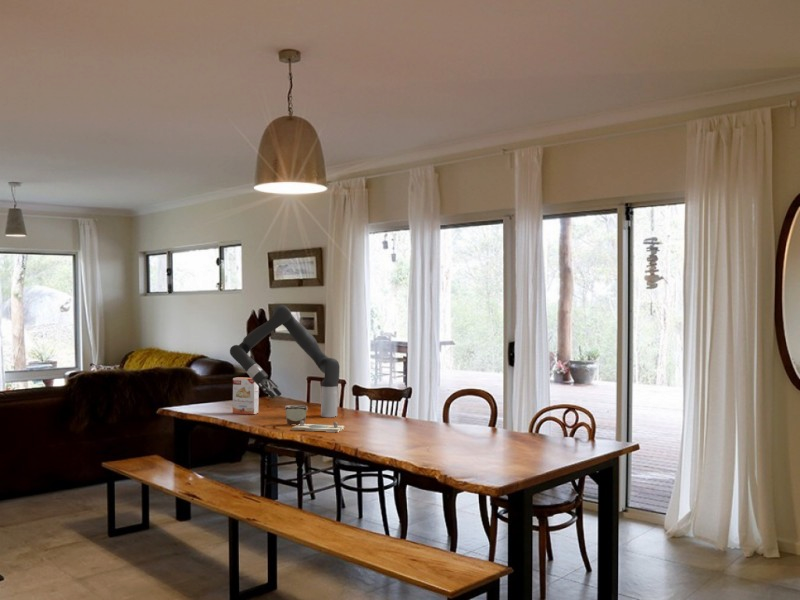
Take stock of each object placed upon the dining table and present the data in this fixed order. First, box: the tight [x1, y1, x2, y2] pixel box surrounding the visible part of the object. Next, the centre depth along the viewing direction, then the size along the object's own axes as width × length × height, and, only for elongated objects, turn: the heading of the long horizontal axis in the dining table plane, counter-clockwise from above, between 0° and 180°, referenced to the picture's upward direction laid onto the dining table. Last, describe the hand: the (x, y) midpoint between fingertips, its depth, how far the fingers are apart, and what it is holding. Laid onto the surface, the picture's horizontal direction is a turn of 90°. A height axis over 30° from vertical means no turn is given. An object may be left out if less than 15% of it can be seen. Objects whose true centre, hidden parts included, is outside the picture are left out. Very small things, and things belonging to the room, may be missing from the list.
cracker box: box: [232, 376, 260, 415], centre depth 396 cm, size 14×6×21 cm, turn 73°
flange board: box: [291, 421, 345, 433], centre depth 346 cm, size 12×24×4 cm, turn 78°
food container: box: [284, 404, 308, 426], centre depth 361 cm, size 12×6×10 cm, turn 84°
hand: (277, 396), depth 364 cm, fingers open, 8 cm apart
